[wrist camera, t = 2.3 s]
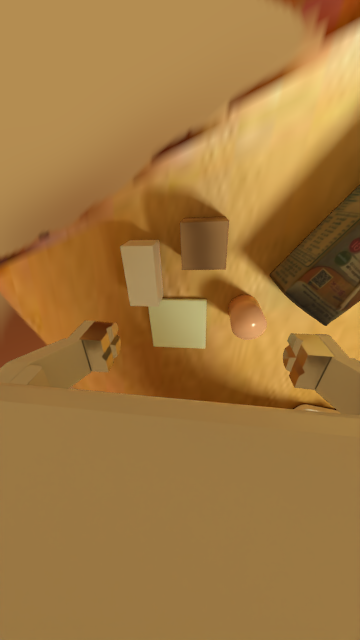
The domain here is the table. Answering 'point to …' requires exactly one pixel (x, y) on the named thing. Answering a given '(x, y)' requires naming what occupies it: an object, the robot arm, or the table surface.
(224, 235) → the walnut cube
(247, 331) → the brown egg
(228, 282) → the table surface
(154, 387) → the table surface
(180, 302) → the green tile
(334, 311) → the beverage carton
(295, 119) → the table surface
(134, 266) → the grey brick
